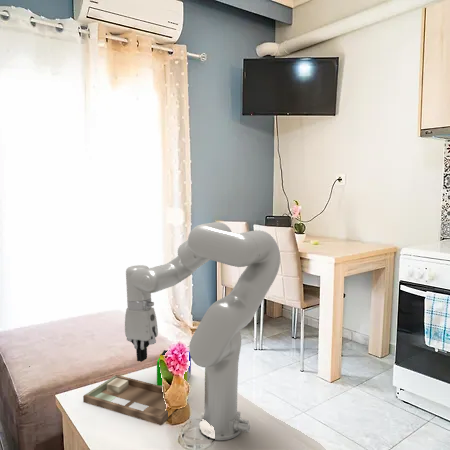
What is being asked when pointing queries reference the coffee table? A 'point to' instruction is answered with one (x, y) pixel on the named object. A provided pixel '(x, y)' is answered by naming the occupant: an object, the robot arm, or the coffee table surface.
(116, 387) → the block
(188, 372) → the puzzle toy
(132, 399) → the box
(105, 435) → the coffee table surface
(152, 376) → the coffee table surface
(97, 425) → the coffee table surface
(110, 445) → the coffee table surface
